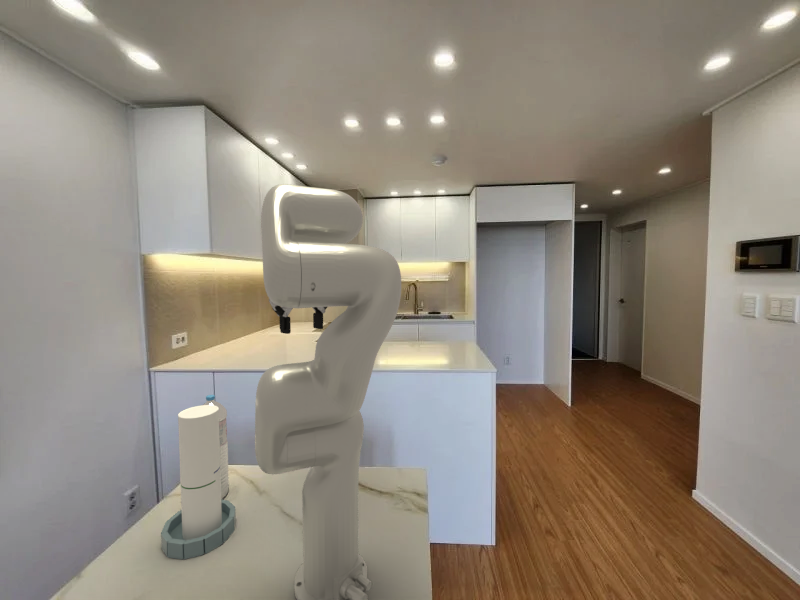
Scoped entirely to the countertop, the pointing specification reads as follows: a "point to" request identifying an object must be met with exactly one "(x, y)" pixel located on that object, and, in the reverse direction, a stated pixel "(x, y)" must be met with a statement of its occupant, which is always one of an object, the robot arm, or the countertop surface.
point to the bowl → (186, 549)
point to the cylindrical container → (200, 470)
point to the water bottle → (222, 444)
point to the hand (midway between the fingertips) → (302, 330)
